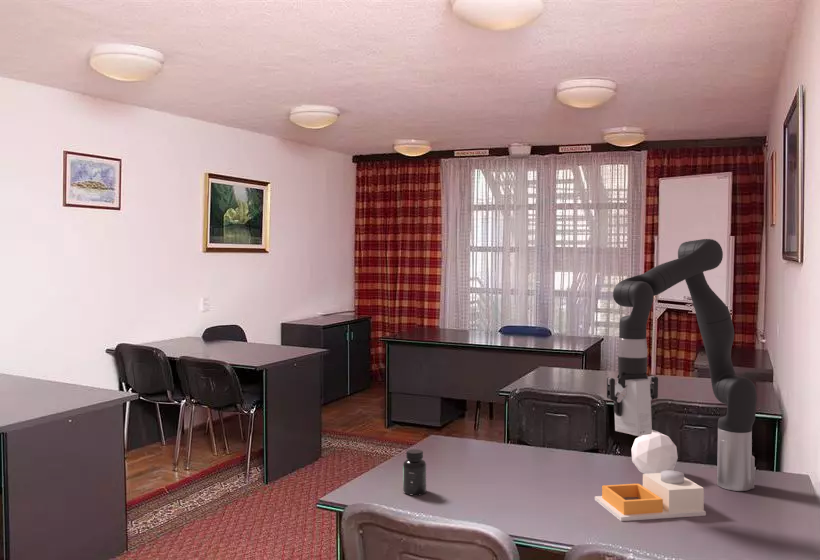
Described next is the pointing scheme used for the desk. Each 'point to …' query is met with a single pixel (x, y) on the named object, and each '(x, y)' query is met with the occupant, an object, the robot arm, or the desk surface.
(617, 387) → the skincare box
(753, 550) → the desk surface
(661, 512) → the box holder with button
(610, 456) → the desk surface
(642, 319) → the robot arm
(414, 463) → the supplement bottle
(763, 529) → the desk surface
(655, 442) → the geodesic sphere
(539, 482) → the desk surface
